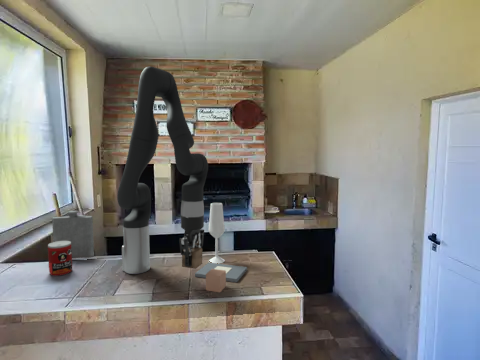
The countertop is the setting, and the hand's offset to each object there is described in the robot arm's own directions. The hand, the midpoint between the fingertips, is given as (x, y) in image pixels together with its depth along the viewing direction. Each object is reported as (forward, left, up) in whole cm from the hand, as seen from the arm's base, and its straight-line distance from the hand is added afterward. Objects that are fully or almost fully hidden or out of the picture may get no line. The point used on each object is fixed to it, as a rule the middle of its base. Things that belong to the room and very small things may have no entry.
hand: (192, 263), depth 107 cm
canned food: (-53, -5, -8) cm, 53 cm away
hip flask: (-62, +10, -8) cm, 63 cm away
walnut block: (0, 0, -1) cm, 1 cm away
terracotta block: (+8, 0, -8) cm, 12 cm away
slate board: (+5, +13, -8) cm, 16 cm away
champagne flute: (-2, +25, -8) cm, 26 cm away
